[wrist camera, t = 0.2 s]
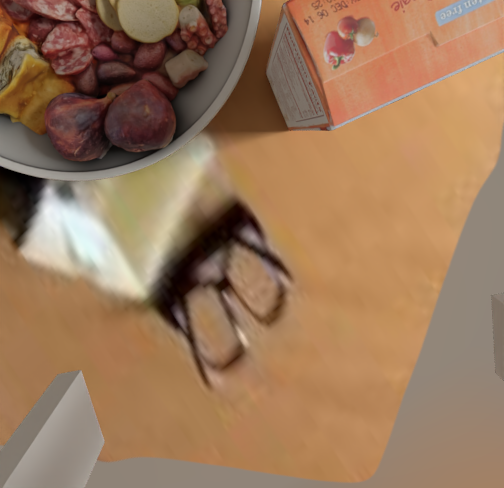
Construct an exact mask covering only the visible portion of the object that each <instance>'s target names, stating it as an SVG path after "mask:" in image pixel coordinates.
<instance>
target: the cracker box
mask: <svg viewBox="0 0 504 488" xmlns="http://www.w3.org/2000/svg"><path fill="white" fill-rule="evenodd" d="M503 52H504V0H289V1H287V2H285V3H284V4H283V6H282V9H281V13H280V17H279V21H278V24H277V28H276V32H275V36H274V40H273V44H272V48H271V51H270V55H269V59H268V63H267V66H266V71H265V73H266V75H267V77H268V80H269V82H270V85H271V87H272V90H273V92H274V95H275V97H276V100H277V102H278V105H279V107H280V110H281V112H282V114H283V117H284V119H285V122H286V124H287V127H288V129H289V130H290V131H292V130H294V131H296V130H326V131H330V130H334V129H336V128H338V127H340V126H343V125H345V124H347V123H349V122H351V121H353V120H356V119H358V118H360V117H362V116H365V115H367V114H369V113H371V112H373V111H376V110H378V109H380V108H382V107H384V106H387V105H389V104H391V103H393V102H396V101H398V100H400V99H403V98H405V97H407V96H409V95H411V94H413V93H415V92H417V91H419V90H422V89H424V88H426V87H428V86H430V85H432V84H435V83H437V82H439V81H441V80H443V79H446V78H448V77H450V76H452V75H454V74H457V73H459V72H461V71H463V70H465V69H468V68H470V67H472V66H474V65H476V64H478V63H481V62H483V61H485V60H487V59H489V58H492V57H494V56H496V55H498V54H500V53H503Z"/></svg>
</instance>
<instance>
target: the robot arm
mask: <svg viewBox="0 0 504 488" xmlns="http://www.w3.org/2000/svg"><path fill="white" fill-rule="evenodd" d="M491 300H492V319H493V339H494V356H495V357H494V358H495V373H496V374H497V375H498V376H499V377H500V378H501V379H502V380H503V381H504V293H501V294H495V295H491ZM103 444H104V438H103V435H102V432H101V429H100V426H99V423H98V420H97V417H96V414H95V411H94V408H93V405H92V402H91V399H90V396H89V393H88V390H87V387H86V384H85V381H84V378H83V374H82V371H81V370H78V371H73V372H67V373H62V374H58V375H57V376H56V377H55V379H54V380H53V381H52V383H51V384H50V385H49V387H48V388H47V389H46V391H45V392H44V393H43V395H42V396H41V397H40V399H39V400H38V401H37V403H36V404H35V405H34V407H33V408H32V409H31V411H30V412H29V413H28V415H27V416H26V417H25V419H24V420H23V421H22V423H21V424H20V425H19V427H18V428H17V429H16V431H15V432H14V433H13V435H12V436H11V437H10V439H9V440H8V441H7V443H6V444H5V445H4V447H3V448H2V449H1V451H0V488H84V487H85V485H86V483H87V481H88V478H89V476H90V474H91V472H92V469H93V467H94V465H95V462H96V460H97V458H98V456H99V453H100V451H101V449H102V447H103Z"/></svg>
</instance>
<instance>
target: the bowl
mask: <svg viewBox="0 0 504 488" xmlns="http://www.w3.org/2000/svg"><path fill="white" fill-rule="evenodd" d="M261 4H262V0H0V166H2V167H5V168H8V169H10V170H13V171H16V172H20V173H23V174H27V175H31V176H35V177H40V178H46V179H54V180H64V181H88V180H99V179H105V178H112V177H116V176H120V175H124V174H127V173H131V172H134V171H137V170H139V169H142V168H145V167H147V166H149V165H152V164H154V163H156V162H158V161H160V160H162V159H164V158H166V157H167V156H169V155H171V154H172V153H174V152H175V151H177V150H179V149H180V148H181V147H183V146H184V145H185V144H187V143H188V142H189V141H190V140H192V139H193V138H194V137H195V136H196V135H198V134H199V133H200V132H201V131H202V130H203V129H204V128H205V127H206V126H207V125H208V124H209V122H210V121H211V120H212V119H213V118H214V117H215V116H216V114H217V113H218V112H219V111H220V109H221V108H222V107H223V105H224V104H225V102H226V101H227V99H228V98H229V96H230V95H231V93H232V91H233V90H234V88H235V86H236V84H237V82H238V81H239V79H240V77H241V75H242V72H243V70H244V68H245V65H246V63H247V61H248V58H249V55H250V52H251V49H252V46H253V43H254V39H255V36H256V32H257V27H258V23H259V17H260V11H261Z"/></svg>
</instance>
